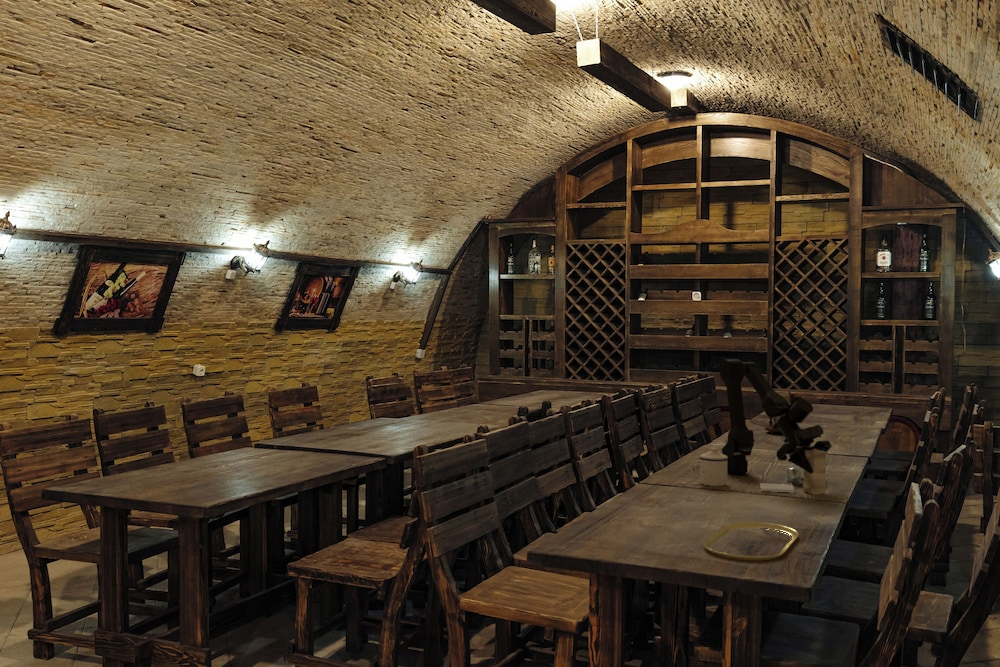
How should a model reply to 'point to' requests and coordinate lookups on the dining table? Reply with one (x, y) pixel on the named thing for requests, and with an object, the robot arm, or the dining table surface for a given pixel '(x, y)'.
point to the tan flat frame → (739, 525)
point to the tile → (777, 487)
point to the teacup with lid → (712, 468)
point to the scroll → (770, 427)
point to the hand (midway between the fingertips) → (817, 472)
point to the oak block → (815, 472)
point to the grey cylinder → (793, 475)
